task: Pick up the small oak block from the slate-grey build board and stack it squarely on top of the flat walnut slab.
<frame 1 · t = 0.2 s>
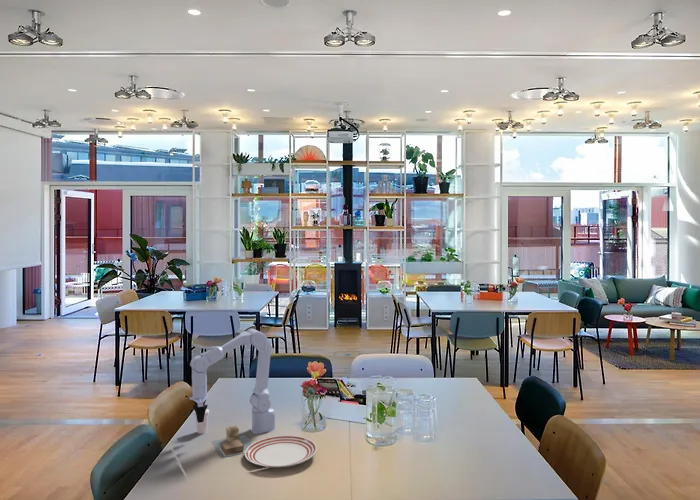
hand: (200, 418, 216), 10 cm above the table, tool pointing down, fingers open, 7 cm apart
dinner plate: (281, 457, 203), on the table, touching build board
build board: (234, 447, 212), on the table
smoothie: (202, 433, 227), on the table
walnut slab: (232, 450, 208), point 1 cm above the table, touching build board
oak block: (232, 440, 218), point 1 cm above the table, touching build board
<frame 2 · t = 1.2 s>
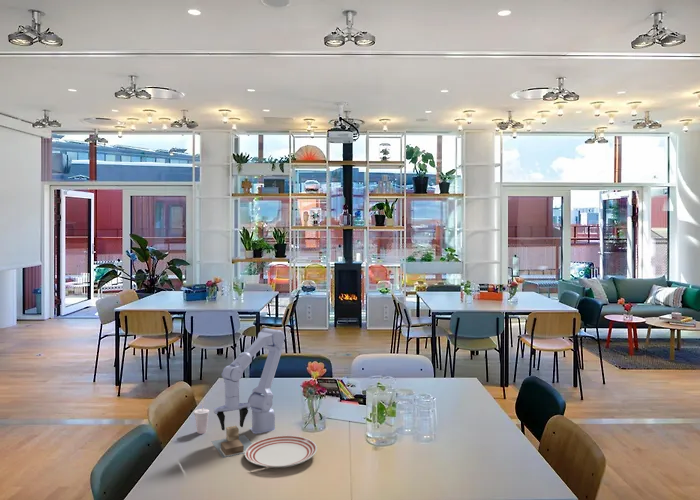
hand: (232, 428, 218), 6 cm above the table, tool pointing down, fingers open, 7 cm apart
nothing on the table moved.
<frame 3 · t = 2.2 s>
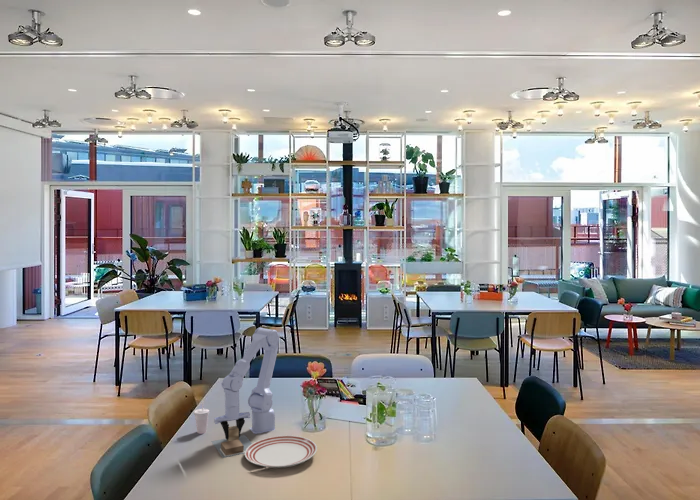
hand: (232, 437, 218), 2 cm above the table, tool pointing down, fingers closed on oak block, 4 cm apart
oak block: (232, 440, 218), point 1 cm above the table, touching build board, gripper
everything else where it was.
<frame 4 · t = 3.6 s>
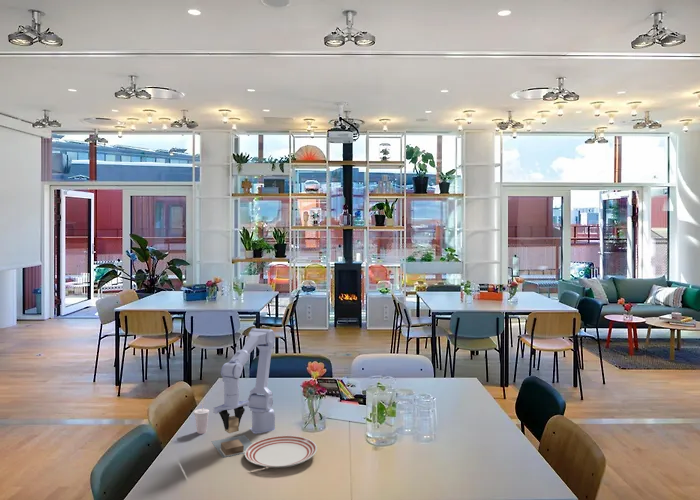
hand: (231, 427, 209), 9 cm above the table, tool pointing down, fingers closed on oak block, 4 cm apart
oak block: (231, 430, 209), point 8 cm above the table, touching gripper
everything else where it was.
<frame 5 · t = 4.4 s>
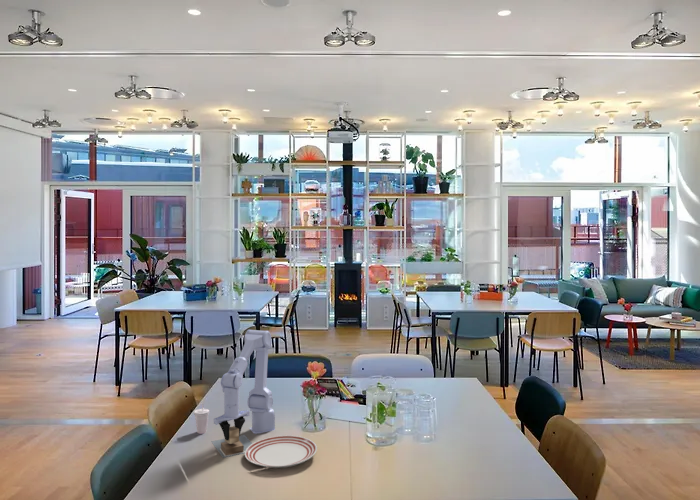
hand: (232, 438, 207), 6 cm above the table, tool pointing down, fingers closed on oak block, 4 cm apart
oak block: (231, 441, 208), point 4 cm above the table, touching gripper
everything else where it was.
when the fingers open (5 cm above the table, at t = 4.8 s): oak block stays where it is, resting on walnut slab.
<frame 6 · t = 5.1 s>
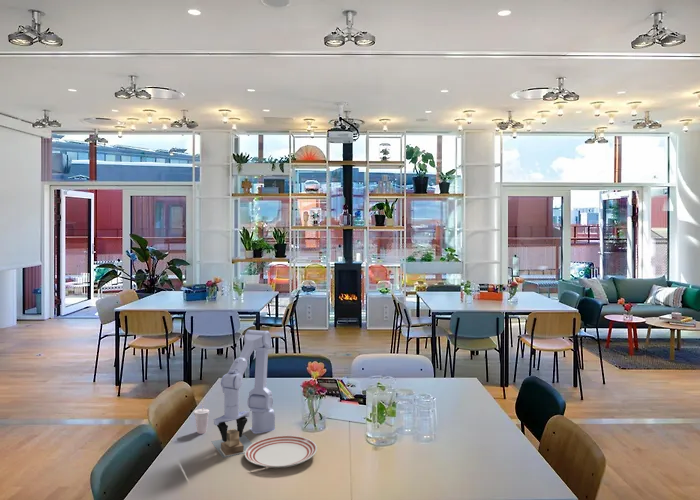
hand: (232, 438, 207), 5 cm above the table, tool pointing down, fingers open, 6 cm apart
walnut slab: (232, 450, 208), point 1 cm above the table, touching build board, oak block
oak block: (232, 444, 208), point 3 cm above the table, touching walnut slab
everything else where it was.
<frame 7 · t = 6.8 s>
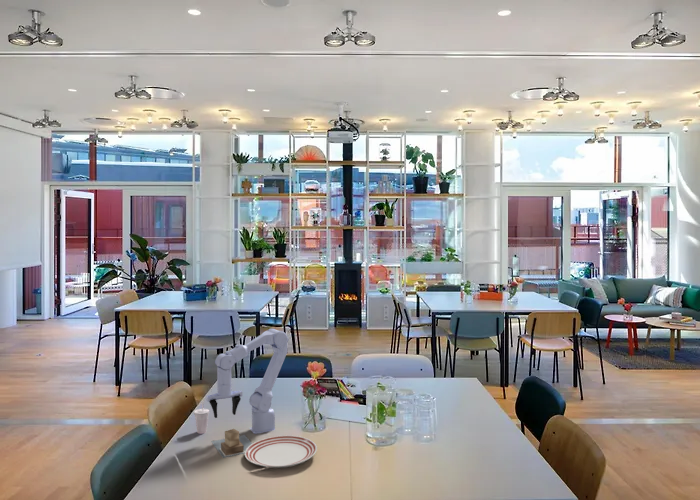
hand: (224, 415, 220), 10 cm above the table, tool pointing down, fingers open, 7 cm apart
nothing on the table moved.
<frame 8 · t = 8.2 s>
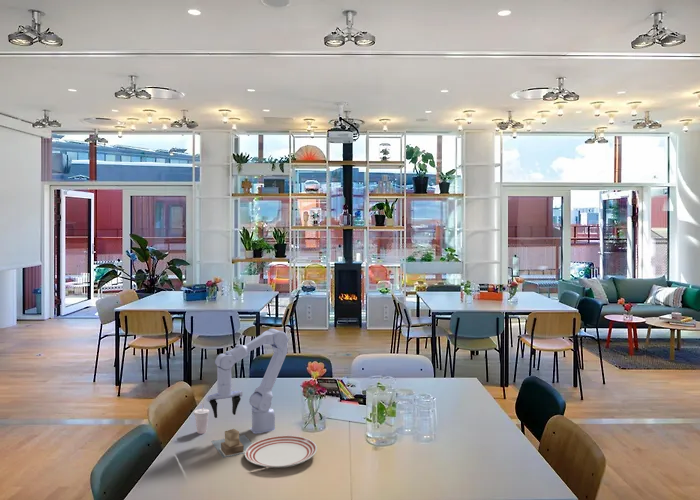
hand: (224, 415, 220), 10 cm above the table, tool pointing down, fingers open, 7 cm apart
nothing on the table moved.
at the end: oak block 0.1 cm off-centre on the walnut slab, point 2.5 cm above the walnut slab's base; oak block tilted 0°; the gripper is holding nothing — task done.
